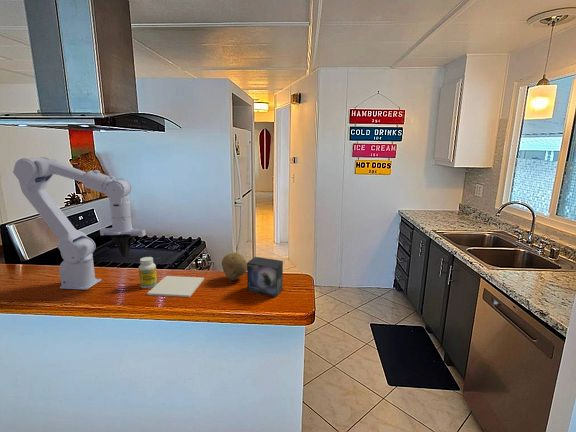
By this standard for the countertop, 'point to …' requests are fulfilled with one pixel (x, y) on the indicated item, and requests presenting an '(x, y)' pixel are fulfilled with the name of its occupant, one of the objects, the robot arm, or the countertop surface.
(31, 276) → the countertop surface
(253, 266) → the small box
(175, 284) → the mat
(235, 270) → the natural sponge
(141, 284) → the supplement bottle
